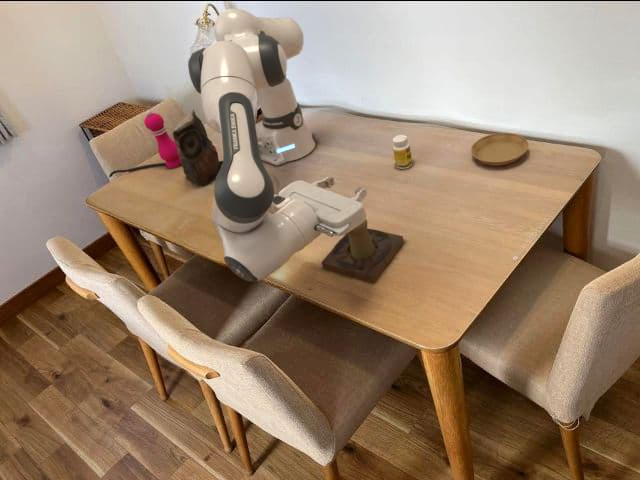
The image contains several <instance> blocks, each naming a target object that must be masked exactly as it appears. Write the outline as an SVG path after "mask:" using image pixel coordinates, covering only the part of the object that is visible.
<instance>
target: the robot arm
mask: <svg viewBox="0 0 640 480" xmlns="http://www.w3.org/2000/svg"><path fill="white" fill-rule="evenodd" d="M213 35H214V38H215V39H214V42H213V43H211V44H210V45H209V46H208V47H207V48H205V47H202V48H200V49H197V50H196V51H194V52H192V53H191V54H190V57H189V58H188V61H187V68H188V75H189V79H190V82H191V83H192V85H193V88H194V89H195V91H196V92H197V93H199V95H200V99H201V107H202V112H203V116H204V118H205V121H206V124H207V125H208V126H209V127H210V129H212V130H213V131H215V132H218V133H219V134H220V139H221V140H220V141H221V150H222V160H219V164H220V166H221V168H220V170H219V172H218V175H217V176H216V179H215V180H214V186H213V187H214V188H213V189H214V191H213V192H214V193H213V194H214V195H213V200H212V201H213V202H212V208H211V221H212V224H213V227H214V229H215V230H216V231H217V234H218V235H219V237H220V240H221V244H222V248H223V260H224V263H225V264H226V266H227V267H228V268H229V269H230V270H229V271H231V272H232V273H233V274H234V275H236V276H237V277H238V278H240V279H242V280H244V281H247V282H250V283H256V282H259V281H262V280H264V279H265V278H267V277H269V276H270V275H272V274H274V273H275V272H276V271H278V270H279V269H280V268H282V267H283V266H284V265H285V264H287V263H288V262H289V261H290V259H291V257H292V256H293V255H294V254H296V253H298V252H300V251H302V250H304V249H305V248H306V247H307V246H309V245H310V244H311V243H312V242H314V241H315V240H316V239H317V238H318V237H319V236H321V235H322V234H325V235H326V236H327V237H330V238H333V237H340V236H344V235H345V234H346V233H348V232H350V231H351V230H353V229H354V228H356V227H357V226H359V225H360V224H361V223H363V222H364V221H365V220H367V211H366V208H365V205H364V203H363V199H365V198H366V197H367V195H368V193H367V189H366V188H364V187H358V188H356V189H355V190H354V194H355V196H352V197H347V196H344V195H342V194H339V193H337V192H334V191H332V190H329V189H331V188H332V187H333V186H335V184H336V181H335V179H334V177H332V176H329V175H327V176H326V177H325V178H323V179H320V180H316V181H314V182H312V183H310V182H308V181H305V180H303V179H299V180H293V181H292V182H291V183H289V184H288V185H287V186H285V187H283V188H282V189H281V190H280V191H279V192H278V194H275V186H274V183H273V180H272V177H271V176H270V173H269V172H268V171H267V168H266V167H265V166H264V163H263V162H265V163H268V164H270V165H275V166H281V165H283V164H285V163H288V162H293V161H295V160H299V159H302V158H303V157H305V156H307V155H310V153H311V152H312V151H313V150H314V149H315V147H316V142H315V139H313V134H312V132H311V131H310V130H309V128H308V125H307V123H306V121H305V119H304V117H303V111H302V107H301V105H300V104H299V102H298V101H297V98H296V94H295V92H294V88H293V85H292V83H291V81H290V79H289V78H287V71H288V60H290V59H292V58H294V57H297V56H298V55H300V54H301V53H302V51H303V48H304V43H305V37H304V32H303V30H302V28H301V26H300V25H299V23H298V22H297V21H296V20H295V19H293V18H292V17H279V18H272V17H261V16H259V17H258V16H255V15H254V14H252V13H251V12H250V11H247V10H244V9H240V8H230V9H229V8H228V9H225V10H223V11H222V12H220V13H219V14H218V15H217V17H216V19H215V21H214V25H213ZM258 105H259V107H260V111H261V113H260V114H259V115H258ZM257 118H258V120H259V121H260V120H262V121H261V122H262V123H261V124H260V125H261V126H259V128H258V130H257V127H256V123H257ZM179 165H180V166H182V164H181V163H179ZM159 166H161V167H162V166H167V165H166V163H165V162H157V163H150V164H143V165H140V166H136V167H132V168H131V167H130V168H128V169H127V168H126V169H117V170H113V171H112V172H110V173H109V175H108V177H109V178H111V177H113V175H114V174H117V173H128V172H133V171H136V170H141V169H146V168H152V167H159ZM270 208H271V210H272V212H273V213H271V212H270V211H269V209H270Z"/></svg>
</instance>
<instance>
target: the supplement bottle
mask: <svg viewBox="0 0 640 480" xmlns="http://www.w3.org/2000/svg"><path fill="white" fill-rule="evenodd" d="M392 144H393V145H392V152H393V156H394V163H395V166H396V168H397V169H399V170H407V169H408V168H410V167H412V165H413V158H412V151H411V145H410V143H409V142H408V136H407V135H406V134H398V135H395V136H394V137H393V138H392Z"/></svg>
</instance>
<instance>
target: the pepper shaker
mask: <svg viewBox="0 0 640 480" xmlns="http://www.w3.org/2000/svg"><path fill="white" fill-rule="evenodd" d="M367 228H368V220H367V219H366V220H365V221H364V222H363V223H361V224H360V225H359V226H357V227H356V228H354V229H353V230H351V231H350V232H348V234H349V240H350V247H351V252H350V254H351V259H353V260H365V259H368V258H370V257H371V256H373V255H374V254H375V253H376V252H377V251H378V250H377V249H376V246H374V244H373V242H372V240H371V238H370V235H369V233H368V231H367Z"/></svg>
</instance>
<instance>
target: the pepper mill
mask: <svg viewBox="0 0 640 480" xmlns="http://www.w3.org/2000/svg"><path fill="white" fill-rule="evenodd" d="M145 114H146V116H145V118H144V121H143V122H144V125H145V127H146V129H147V130H149V131H150V133H151V135H152V136H153V137H154V139H155V140H156V142H157V148H158V149H157V150H158V154H159V157H160V159H161V160H163V161H164V163H166V165H165V166H166V167H167V168H168V169H175V168H178V167H180V166H181V165H179V163H181V161H180V158H179V155H178V150H177V146H176V143H175V141H174V139H172V137H170V135H169V134H168V132H167V129H168V128H166V126H165V120H164V118H163V116H162V115H161V114H160V113H155V112H154V113H153V111H152V110H151V109H147V110H146V113H145Z"/></svg>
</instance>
